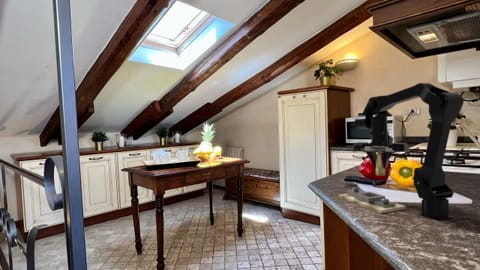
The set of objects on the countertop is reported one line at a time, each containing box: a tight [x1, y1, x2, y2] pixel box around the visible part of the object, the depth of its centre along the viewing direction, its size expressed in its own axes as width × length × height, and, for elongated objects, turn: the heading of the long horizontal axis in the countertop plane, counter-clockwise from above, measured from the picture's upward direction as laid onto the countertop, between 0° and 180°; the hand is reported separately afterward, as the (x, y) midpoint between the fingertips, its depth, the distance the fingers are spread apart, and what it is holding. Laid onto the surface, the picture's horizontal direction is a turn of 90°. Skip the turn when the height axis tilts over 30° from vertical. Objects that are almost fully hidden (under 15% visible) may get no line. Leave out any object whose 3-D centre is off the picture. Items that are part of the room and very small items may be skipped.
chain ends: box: [346, 186, 396, 208], centre depth 103 cm, size 19×8×3 cm, turn 17°
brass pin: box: [375, 151, 386, 177], centre depth 106 cm, size 3×3×9 cm
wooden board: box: [338, 193, 407, 214], centre depth 103 cm, size 22×11×1 cm, turn 17°
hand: (380, 168), depth 106 cm, fingers closed on brass pin, 3 cm apart
